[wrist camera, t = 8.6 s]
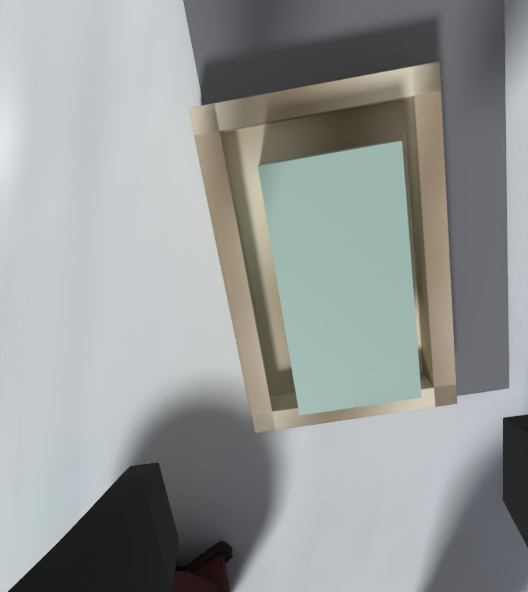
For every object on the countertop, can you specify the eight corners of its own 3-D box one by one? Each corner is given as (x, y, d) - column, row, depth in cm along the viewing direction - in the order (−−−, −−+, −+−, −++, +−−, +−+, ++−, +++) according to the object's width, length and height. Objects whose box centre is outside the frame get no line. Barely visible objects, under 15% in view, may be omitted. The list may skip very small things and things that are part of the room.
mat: (493, -238, 13) (501, -249, 13) (504, 383, 19) (509, 388, 18) (153, -163, 14) (149, -172, 13) (265, 418, 19) (265, 423, 19)
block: (396, 357, 18) (421, 397, 15) (293, 373, 18) (299, 415, 15) (376, 143, 15) (402, 140, 12) (259, 164, 16) (257, 166, 13)
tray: (421, 71, 15) (439, 61, 14) (441, 382, 18) (457, 403, 17) (196, 112, 15) (188, 108, 14) (255, 410, 19) (255, 433, 17)
